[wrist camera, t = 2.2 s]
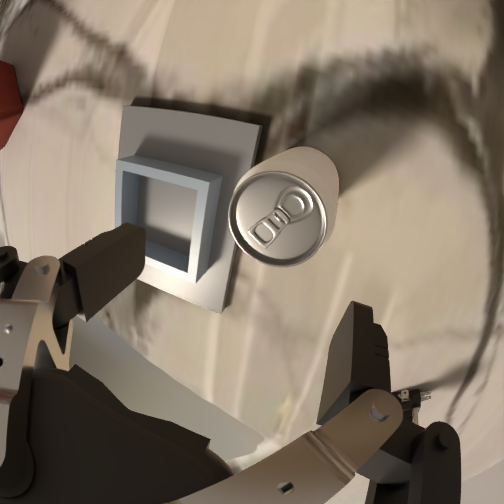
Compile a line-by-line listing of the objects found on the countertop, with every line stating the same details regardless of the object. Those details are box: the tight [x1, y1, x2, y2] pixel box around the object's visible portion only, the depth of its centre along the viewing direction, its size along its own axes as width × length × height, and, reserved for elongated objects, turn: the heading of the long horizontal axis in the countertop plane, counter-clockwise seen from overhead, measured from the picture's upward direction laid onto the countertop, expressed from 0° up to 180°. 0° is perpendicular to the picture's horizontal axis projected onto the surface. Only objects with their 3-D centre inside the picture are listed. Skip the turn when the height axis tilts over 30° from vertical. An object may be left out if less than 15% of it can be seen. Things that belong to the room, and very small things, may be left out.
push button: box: [391, 389, 431, 425], centre depth 29 cm, size 7×5×10 cm
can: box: [228, 147, 339, 267], centre depth 21 cm, size 6×6×12 cm
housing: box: [115, 105, 263, 314], centre depth 30 cm, size 22×16×4 cm
